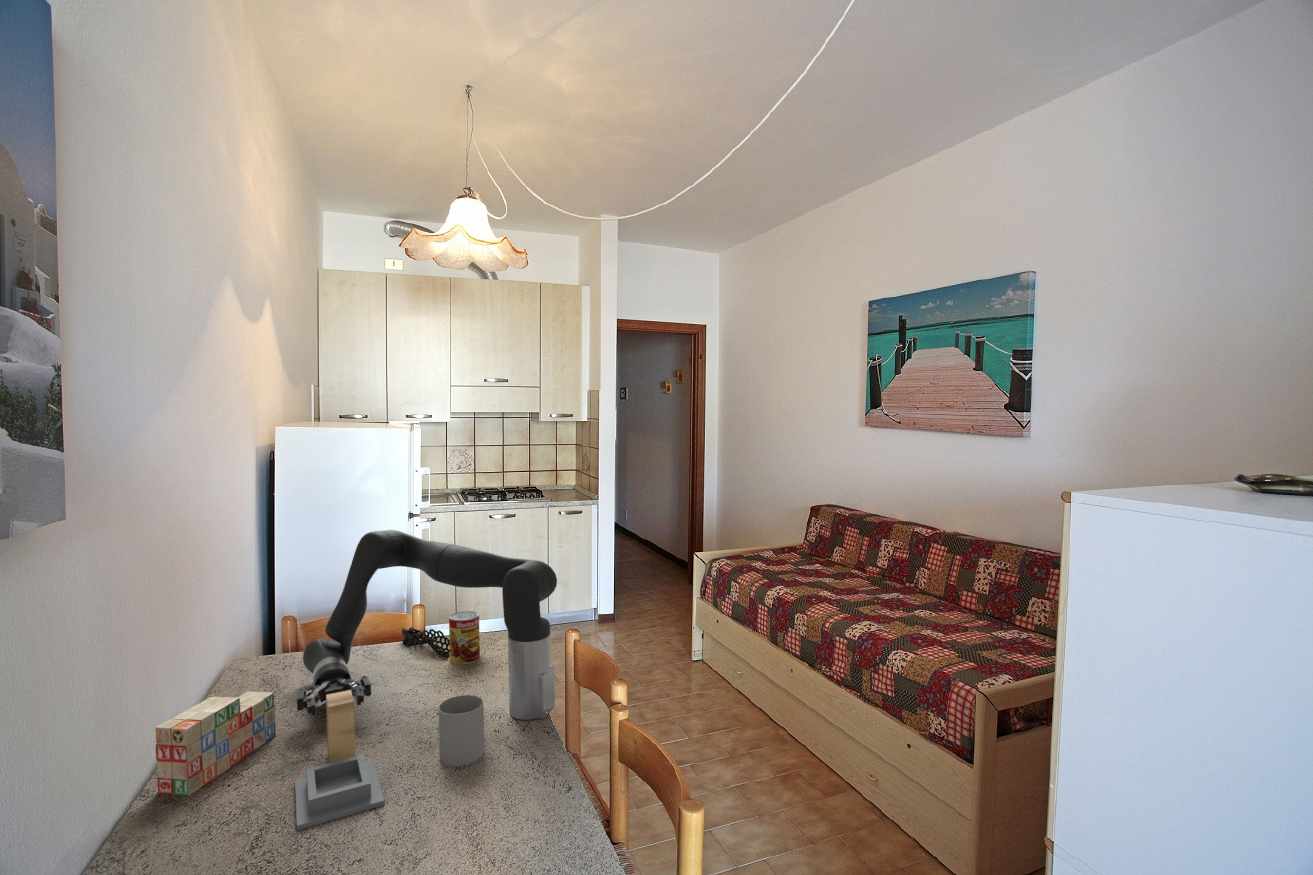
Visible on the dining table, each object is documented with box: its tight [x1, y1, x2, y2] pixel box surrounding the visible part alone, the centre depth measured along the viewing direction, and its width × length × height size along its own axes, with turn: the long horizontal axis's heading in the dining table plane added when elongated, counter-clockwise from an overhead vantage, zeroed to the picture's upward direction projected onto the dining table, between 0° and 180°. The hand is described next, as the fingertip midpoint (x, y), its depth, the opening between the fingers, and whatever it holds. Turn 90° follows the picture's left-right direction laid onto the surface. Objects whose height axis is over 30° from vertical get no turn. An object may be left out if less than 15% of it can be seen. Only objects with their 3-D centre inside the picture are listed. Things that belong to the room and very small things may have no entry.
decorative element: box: [401, 626, 450, 659], centre depth 182 cm, size 22×5×6 cm, turn 54°
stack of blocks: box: [155, 691, 277, 797], centre depth 123 cm, size 21×6×12 cm, turn 172°
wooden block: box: [325, 690, 356, 763], centre depth 124 cm, size 6×4×12 cm
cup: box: [438, 694, 485, 767], centre depth 125 cm, size 8×8×10 cm
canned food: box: [448, 610, 481, 665], centre depth 174 cm, size 8×8×12 cm
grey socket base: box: [294, 754, 385, 831], centre depth 112 cm, size 15×13×3 cm
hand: (336, 705), depth 132 cm, fingers open, 8 cm apart
